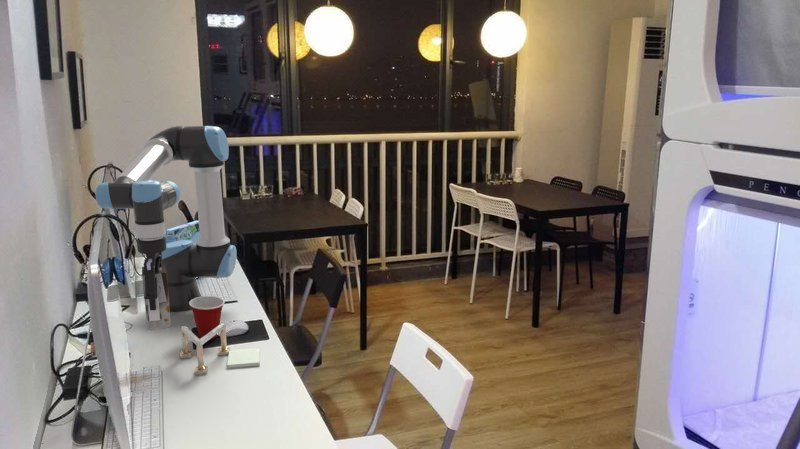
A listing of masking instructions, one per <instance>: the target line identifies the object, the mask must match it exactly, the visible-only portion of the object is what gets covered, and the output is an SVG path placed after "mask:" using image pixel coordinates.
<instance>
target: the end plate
mask: <svg viewBox="0 0 800 449" xmlns="http://www.w3.org/2000/svg"><path fill="white" fill-rule="evenodd" d="M227 356H228V357H227V364H226V366H227V369H234V368H235V369H237V368H244V367H245V368H246V367H256V366H259V367H260V365H261V364H260V362H261V348H259V347H258V348H256V347H255V348H248V349H247V348H244V349H236V350H235V349H234V350H231V349H230V351H229V355H227Z"/></svg>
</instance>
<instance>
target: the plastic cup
mask: <svg viewBox="0 0 800 449" xmlns="http://www.w3.org/2000/svg"><path fill="white" fill-rule="evenodd" d="M201 296H202V297H197V298H194V299H192V300H191V301H190V302H189V304H190V306H191V308H192V309H191V311H192V315H193V319H194V321H195V322H194V323H195V326H196V329H197V333H198V337H199V339H201V338H202V337H204V336H205V335H206V334H208V333H209V332H210V331H212V330H213V329H214V328H216V327H217V326H219V325H220V324H221V317H222V311H223V306H224V305H225V299H224V298H221V297H219V296H216V295H215V296H214V295H213V296H212V295H206V296H205V295H201ZM215 337H216V338H217V337H218V336H217V334H216V335H215V336H213V337H212V338H211V339H210V340H212V339H215Z"/></svg>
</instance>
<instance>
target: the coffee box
mask: <svg viewBox="0 0 800 449" xmlns="http://www.w3.org/2000/svg"><path fill="white" fill-rule="evenodd" d="M155 278H156V279H157V297H158V300H159V311H160V320H158V321H149V311H148V300H147V299H144V297H145V271H144V266H141V279H142V288H143V289H142V290H143V300H144V306H145V307H144V308H145V316H146V325H147V330H148V331H150V330H156V329H164V328H170V327H172V324H171V321H172V320H171V319H172V318H171V311H170V305H169V294H168V283H167V273H166V267H165V264H162V267H159V272H158V273H155Z"/></svg>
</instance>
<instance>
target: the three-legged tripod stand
mask: <svg viewBox="0 0 800 449" xmlns="http://www.w3.org/2000/svg"><path fill="white" fill-rule="evenodd" d="M180 329H181V331H180V332H181V343H182V345H181V347H182V350H181V351H180V354H179V359H190V358H192V355H193V349H190V350H189V340H190V341H192V342H193V344H195V345H196V358H197V366H195V369H194V375H195V376H198V375H199V376H200V375H201V376H202V375H207V374H208V371H209V367H208V366H209V365H205V360H204V349H203V345H204V344H205V343H207V342H208V341H211V340H212V339H211V338H212V337H213V336H215V335H216V334H217V333H220V336H219V337H220V347H219V348H218V351H217V353H218V354H217V355H218V356H229V351H231V347H228V343H227V332H226V331H227V330H226V323H221V322H220V325H219V326H217V327H216V328H214V329H213V330H212V331H210V332H209V333H208V334H206V335H205V336H204V337H202V338H200V337H199V336H197V335H196V334H195V333H193V331H191V330H190V329H189V327H188V326H186V325H184V326H181V328H180Z"/></svg>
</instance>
